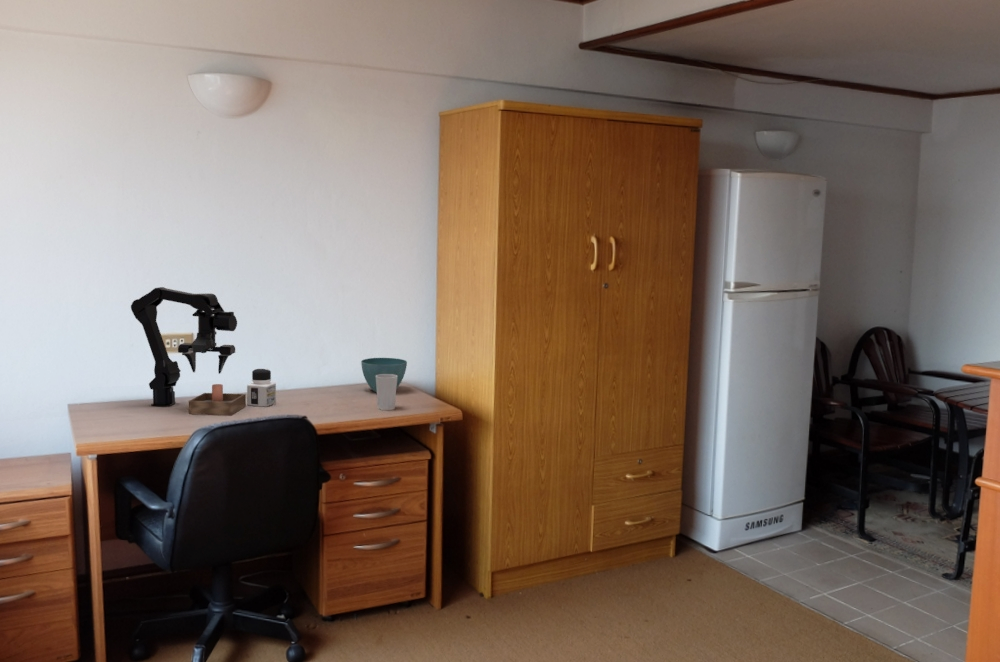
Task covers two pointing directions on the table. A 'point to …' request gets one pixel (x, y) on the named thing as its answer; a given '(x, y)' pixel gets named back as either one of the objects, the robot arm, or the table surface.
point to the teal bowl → (382, 369)
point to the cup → (386, 391)
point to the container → (261, 389)
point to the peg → (217, 393)
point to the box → (217, 404)
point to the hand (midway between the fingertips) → (206, 372)
